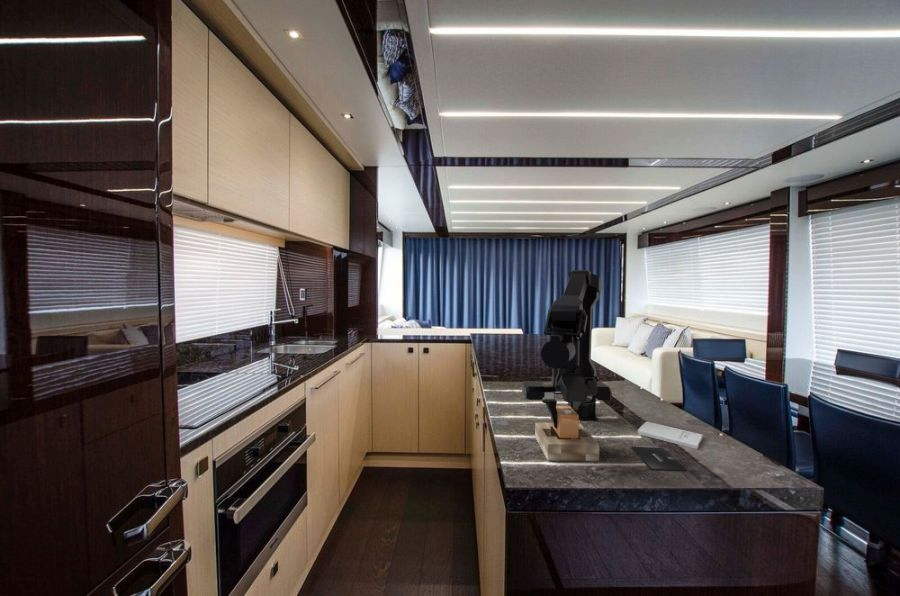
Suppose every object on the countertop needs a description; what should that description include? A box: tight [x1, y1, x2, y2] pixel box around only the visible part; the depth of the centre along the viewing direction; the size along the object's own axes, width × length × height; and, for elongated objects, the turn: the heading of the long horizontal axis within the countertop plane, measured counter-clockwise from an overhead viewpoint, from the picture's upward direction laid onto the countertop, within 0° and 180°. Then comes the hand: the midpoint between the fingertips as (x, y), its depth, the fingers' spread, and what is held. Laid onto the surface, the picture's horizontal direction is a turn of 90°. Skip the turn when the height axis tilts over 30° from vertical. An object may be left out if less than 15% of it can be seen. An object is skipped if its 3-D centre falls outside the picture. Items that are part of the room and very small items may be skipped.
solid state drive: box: [630, 446, 688, 472], centre depth 77 cm, size 7×10×1 cm
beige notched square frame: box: [534, 422, 600, 462], centre depth 82 cm, size 11×12×4 cm
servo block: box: [553, 405, 581, 438], centre depth 82 cm, size 4×9×6 cm, turn 179°
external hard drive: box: [637, 421, 704, 450], centre depth 89 cm, size 2×8×12 cm
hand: (565, 427), depth 82 cm, fingers closed on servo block, 4 cm apart
